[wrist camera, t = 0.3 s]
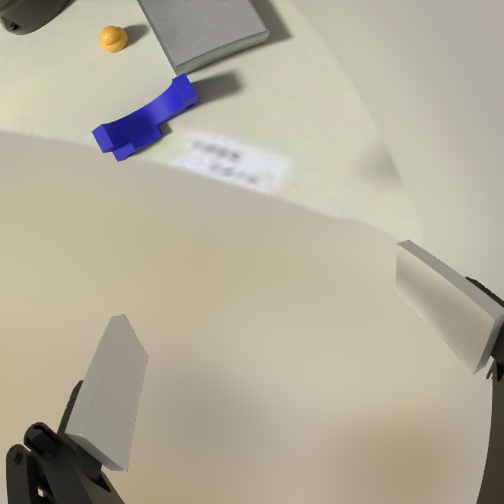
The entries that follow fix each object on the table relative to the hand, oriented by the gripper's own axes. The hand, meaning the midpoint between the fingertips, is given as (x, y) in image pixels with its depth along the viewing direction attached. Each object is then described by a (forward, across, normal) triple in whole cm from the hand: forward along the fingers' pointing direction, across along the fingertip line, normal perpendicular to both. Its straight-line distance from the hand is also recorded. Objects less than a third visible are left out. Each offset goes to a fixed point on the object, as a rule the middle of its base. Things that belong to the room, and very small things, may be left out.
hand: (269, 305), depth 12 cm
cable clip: (+26, -7, +12) cm, 30 cm away
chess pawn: (+26, -10, +26) cm, 38 cm away
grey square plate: (+26, +1, +25) cm, 36 cm away
